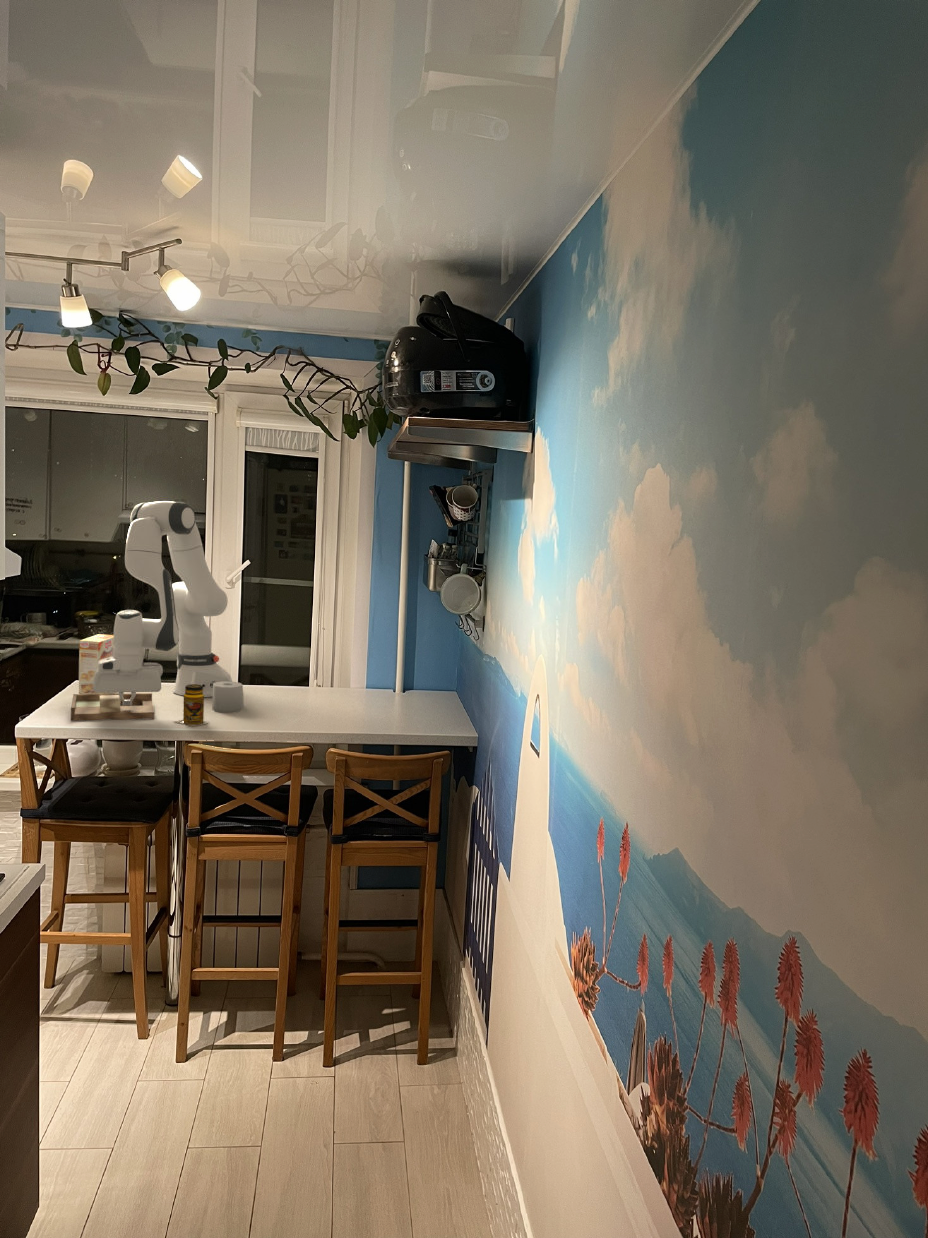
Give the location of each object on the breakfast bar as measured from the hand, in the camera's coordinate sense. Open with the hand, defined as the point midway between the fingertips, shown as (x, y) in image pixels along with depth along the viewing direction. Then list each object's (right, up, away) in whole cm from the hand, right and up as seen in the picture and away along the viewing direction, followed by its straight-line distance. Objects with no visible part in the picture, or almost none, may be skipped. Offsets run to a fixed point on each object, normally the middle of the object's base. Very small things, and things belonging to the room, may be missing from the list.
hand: (127, 705), depth 287 cm
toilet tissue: (+28, -3, +18) cm, 33 cm away
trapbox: (-6, -2, +3) cm, 7 cm away
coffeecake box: (-20, +1, +26) cm, 33 cm away
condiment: (+21, -5, -2) cm, 22 cm away
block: (-5, -1, -2) cm, 5 cm away
